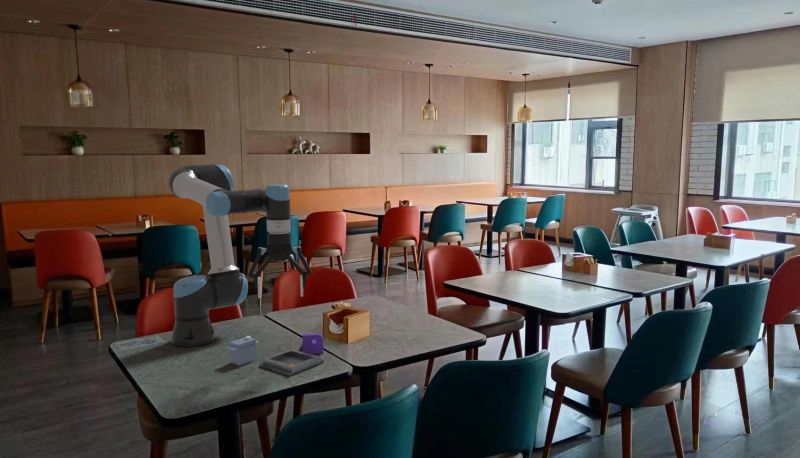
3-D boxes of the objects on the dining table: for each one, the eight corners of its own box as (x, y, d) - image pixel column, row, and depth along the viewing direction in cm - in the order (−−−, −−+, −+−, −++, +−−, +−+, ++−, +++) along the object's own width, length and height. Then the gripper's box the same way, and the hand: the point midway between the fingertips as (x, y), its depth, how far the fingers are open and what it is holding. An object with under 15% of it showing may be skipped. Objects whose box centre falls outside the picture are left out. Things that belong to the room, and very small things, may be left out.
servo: (226, 364, 196) (225, 340, 195) (251, 355, 204) (250, 333, 203) (235, 367, 193) (234, 343, 192) (260, 358, 201) (259, 335, 200)
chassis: (259, 366, 193) (259, 358, 192) (294, 354, 204) (294, 346, 204) (289, 376, 184) (288, 367, 184) (323, 362, 196) (323, 354, 196)
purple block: (323, 354, 205) (322, 334, 204) (302, 355, 204) (302, 335, 204) (322, 343, 217) (322, 324, 216) (303, 344, 216) (302, 325, 215)
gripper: (238, 234, 189) (240, 300, 192) (317, 232, 193) (319, 297, 196) (240, 231, 197) (243, 295, 199) (317, 229, 200) (318, 292, 203)
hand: (280, 296), depth 198 cm, fingers open, 13 cm apart
